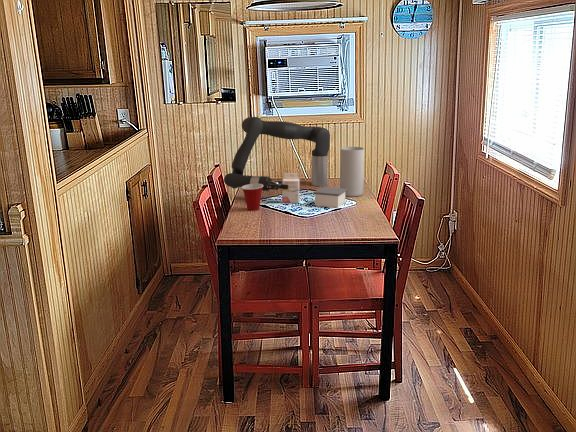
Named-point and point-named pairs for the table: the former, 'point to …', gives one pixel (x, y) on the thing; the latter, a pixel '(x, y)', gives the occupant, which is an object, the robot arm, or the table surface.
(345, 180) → the cylinder vase
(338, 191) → the podium
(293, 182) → the ink cartridge box
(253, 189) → the plastic cup
